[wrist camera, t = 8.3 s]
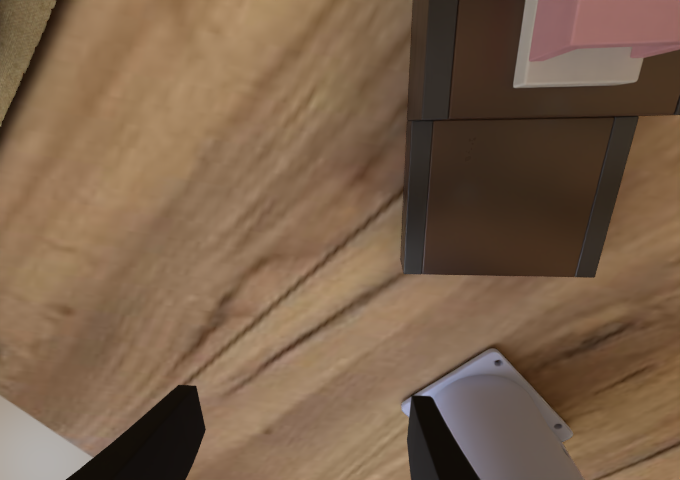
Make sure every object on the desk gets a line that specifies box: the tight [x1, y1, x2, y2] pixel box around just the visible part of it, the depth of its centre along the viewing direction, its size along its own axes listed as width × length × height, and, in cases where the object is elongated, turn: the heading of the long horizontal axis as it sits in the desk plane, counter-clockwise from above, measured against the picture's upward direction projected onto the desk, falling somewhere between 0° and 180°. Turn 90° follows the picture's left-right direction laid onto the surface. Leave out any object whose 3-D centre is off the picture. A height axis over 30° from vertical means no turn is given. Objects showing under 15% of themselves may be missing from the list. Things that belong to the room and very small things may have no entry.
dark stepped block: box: [400, 0, 680, 277], centre depth 14 cm, size 16×10×5 cm, turn 1°
